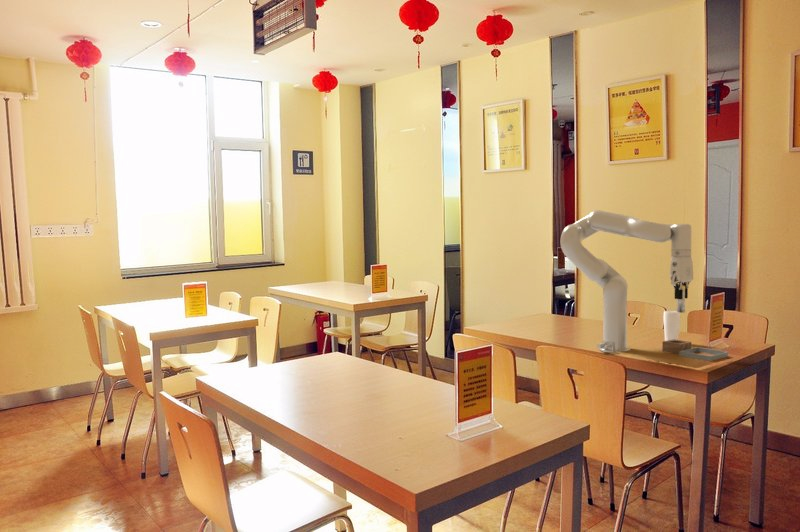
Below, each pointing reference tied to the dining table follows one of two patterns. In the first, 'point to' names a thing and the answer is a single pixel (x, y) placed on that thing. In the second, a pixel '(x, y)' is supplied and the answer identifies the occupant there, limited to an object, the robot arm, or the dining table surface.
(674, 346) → the pin block
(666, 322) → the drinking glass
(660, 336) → the dining table surface
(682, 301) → the pin
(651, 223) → the robot arm
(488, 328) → the dining table surface
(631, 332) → the dining table surface
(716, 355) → the tray
